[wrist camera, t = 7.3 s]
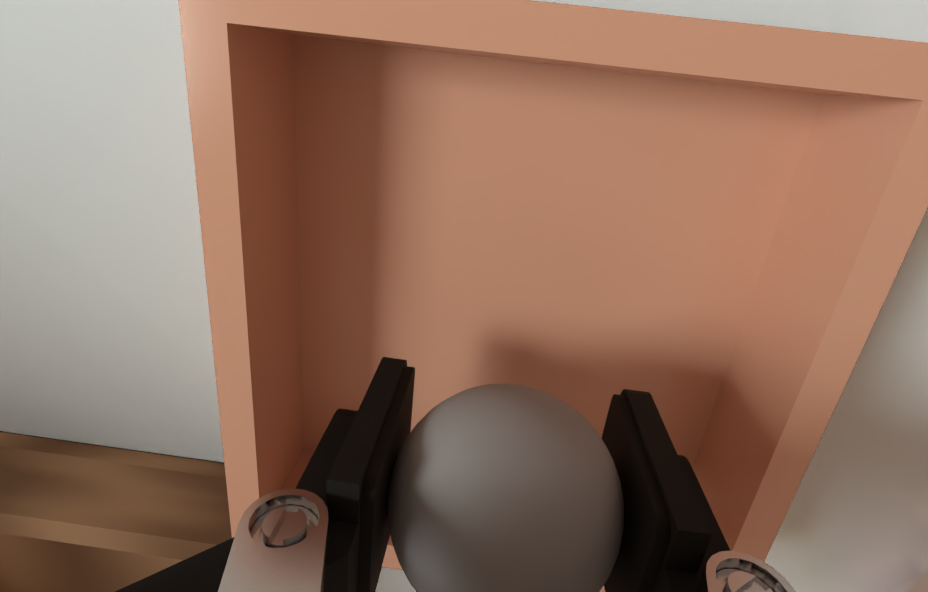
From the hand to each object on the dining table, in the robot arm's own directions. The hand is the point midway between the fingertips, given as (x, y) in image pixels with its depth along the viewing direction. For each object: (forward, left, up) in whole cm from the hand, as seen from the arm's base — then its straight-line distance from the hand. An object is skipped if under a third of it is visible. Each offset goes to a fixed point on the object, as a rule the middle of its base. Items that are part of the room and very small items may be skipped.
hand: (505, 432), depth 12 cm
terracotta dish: (0, +2, -3) cm, 4 cm away
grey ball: (0, 0, 0) cm, 0 cm away
